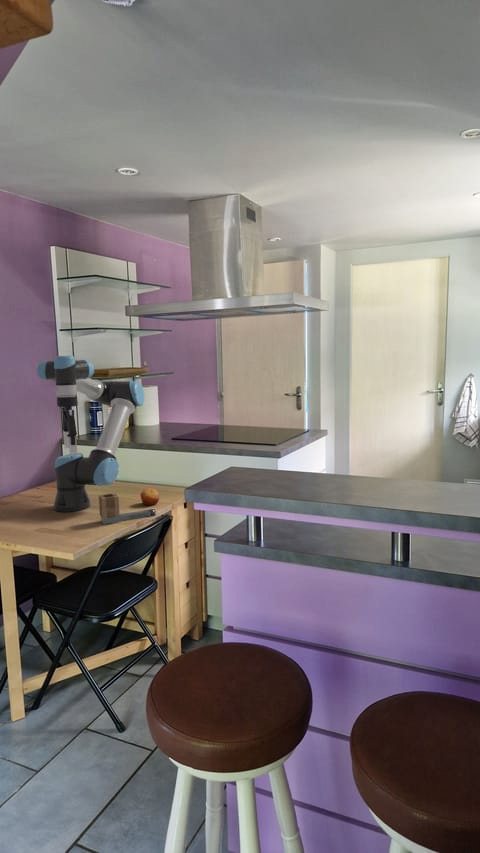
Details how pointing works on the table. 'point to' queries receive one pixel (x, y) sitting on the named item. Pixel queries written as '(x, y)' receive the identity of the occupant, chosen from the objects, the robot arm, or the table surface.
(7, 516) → the table surface
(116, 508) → the socket collar
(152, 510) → the grey lever handle
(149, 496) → the fruit
